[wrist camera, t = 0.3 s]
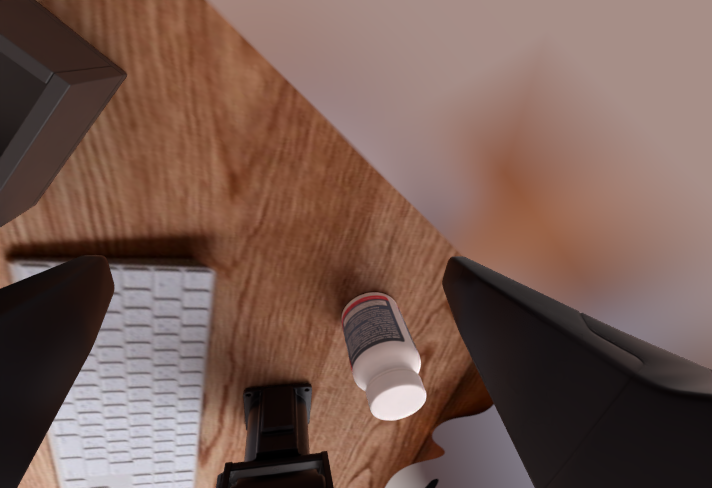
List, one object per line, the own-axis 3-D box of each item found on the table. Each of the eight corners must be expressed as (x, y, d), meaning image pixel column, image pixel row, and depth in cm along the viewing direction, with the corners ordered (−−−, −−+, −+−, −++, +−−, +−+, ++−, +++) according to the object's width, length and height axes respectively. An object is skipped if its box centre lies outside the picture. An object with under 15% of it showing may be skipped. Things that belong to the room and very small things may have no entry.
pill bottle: (328, 318, 29) (343, 412, 22) (370, 280, 28) (401, 366, 20) (368, 342, 32) (395, 434, 24) (408, 308, 30) (449, 394, 23)
